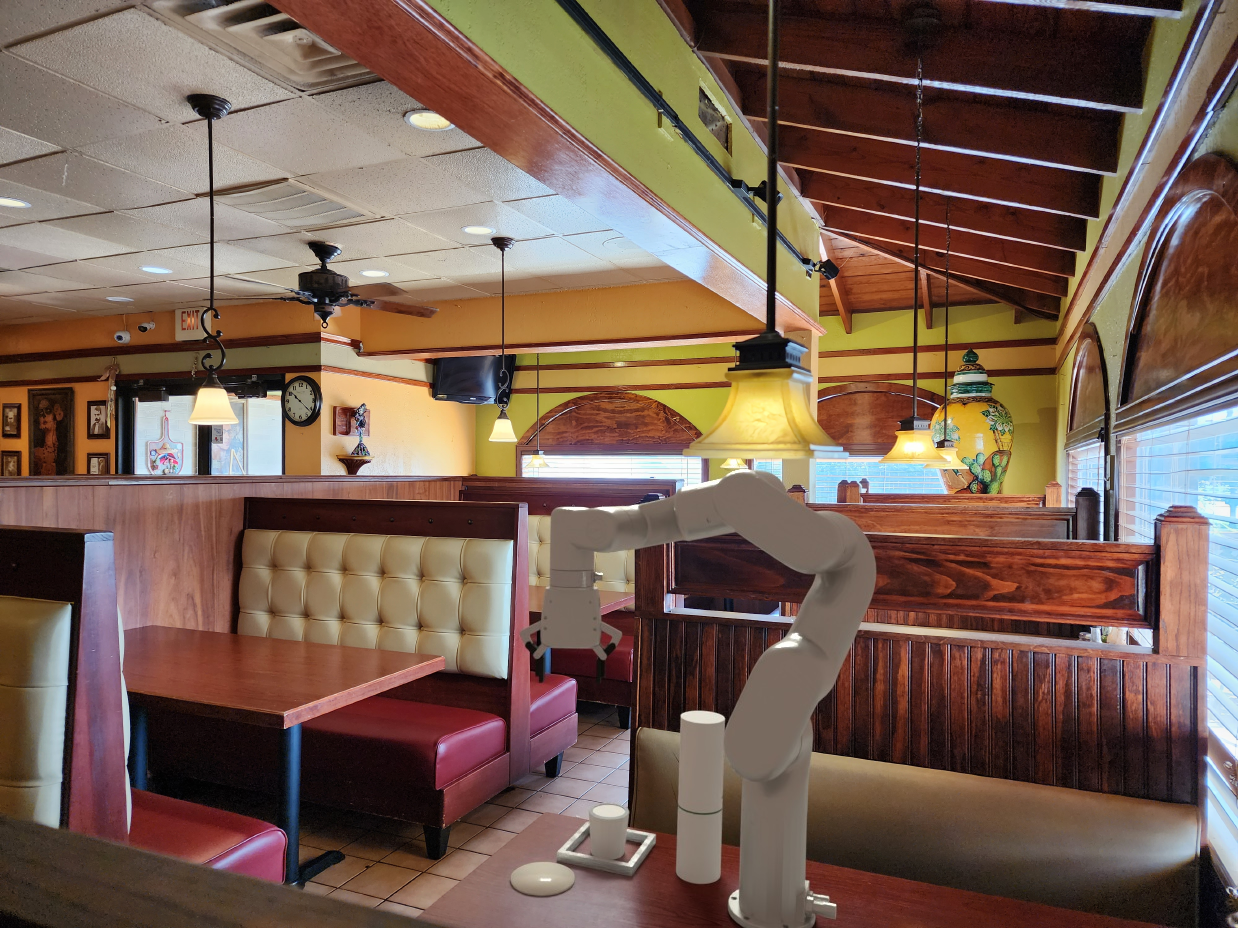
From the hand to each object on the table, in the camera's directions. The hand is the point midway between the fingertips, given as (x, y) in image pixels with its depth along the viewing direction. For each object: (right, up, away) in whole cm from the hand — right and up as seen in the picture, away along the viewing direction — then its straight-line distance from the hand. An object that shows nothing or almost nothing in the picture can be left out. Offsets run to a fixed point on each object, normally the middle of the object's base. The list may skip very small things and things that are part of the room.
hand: (570, 681), depth 135 cm
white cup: (+6, -29, +1) cm, 30 cm away
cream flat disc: (-4, -28, -10) cm, 30 cm away
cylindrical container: (+21, -30, -6) cm, 37 cm away
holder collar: (+6, -29, +1) cm, 30 cm away
